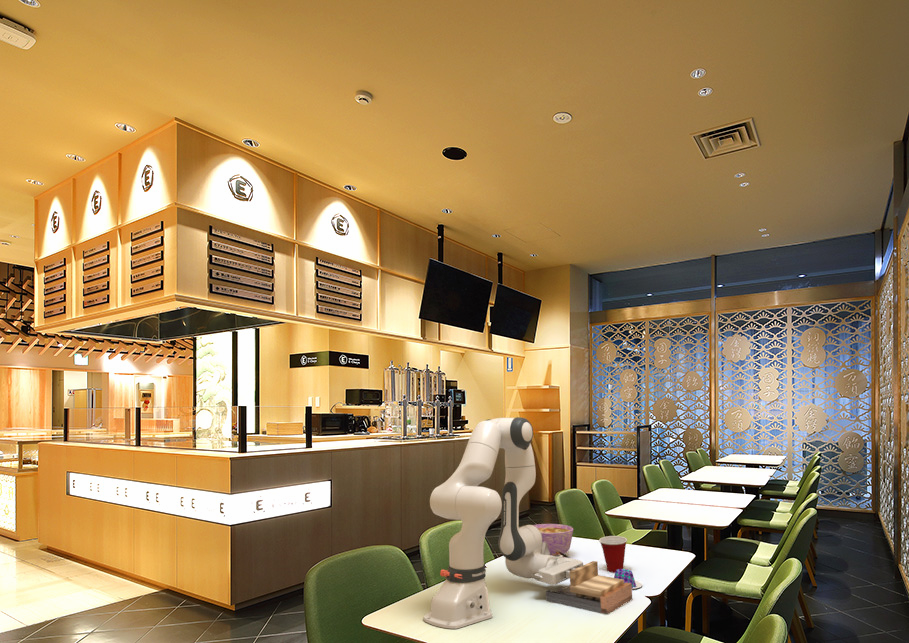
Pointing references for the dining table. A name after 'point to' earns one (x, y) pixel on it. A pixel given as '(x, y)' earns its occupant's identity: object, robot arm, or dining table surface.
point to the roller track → (604, 606)
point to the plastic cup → (613, 551)
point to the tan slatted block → (591, 582)
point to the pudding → (627, 577)
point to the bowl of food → (556, 537)
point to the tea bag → (545, 549)
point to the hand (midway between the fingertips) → (582, 575)
